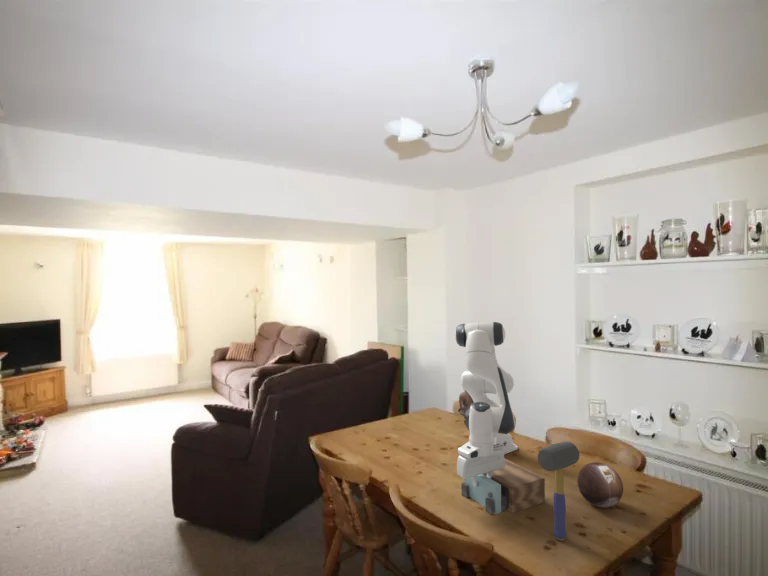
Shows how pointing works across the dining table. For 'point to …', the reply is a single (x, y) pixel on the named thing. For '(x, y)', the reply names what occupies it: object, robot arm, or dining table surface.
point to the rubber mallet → (558, 479)
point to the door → (485, 491)
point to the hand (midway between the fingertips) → (481, 484)
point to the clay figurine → (464, 403)
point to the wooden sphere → (600, 484)
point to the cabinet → (514, 488)
